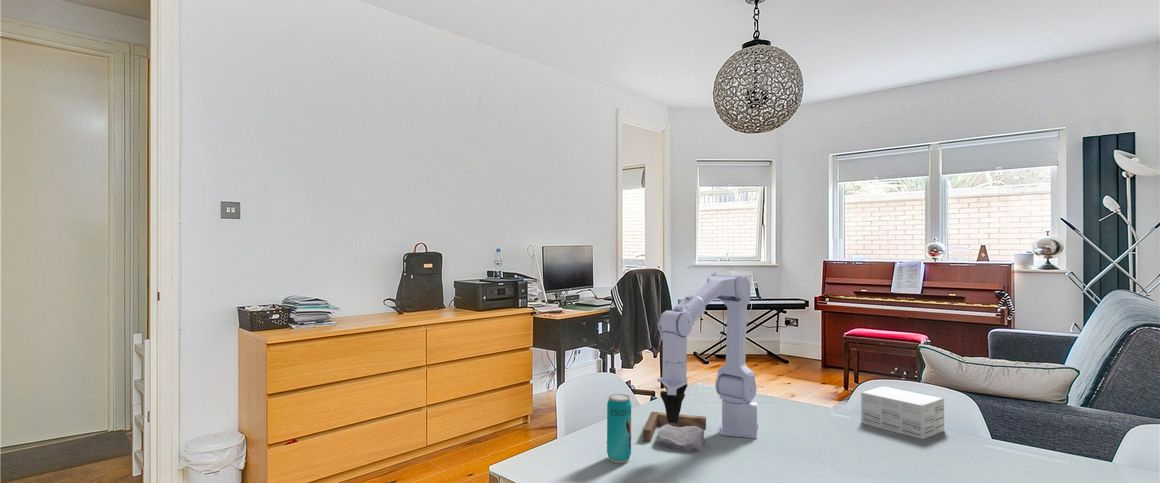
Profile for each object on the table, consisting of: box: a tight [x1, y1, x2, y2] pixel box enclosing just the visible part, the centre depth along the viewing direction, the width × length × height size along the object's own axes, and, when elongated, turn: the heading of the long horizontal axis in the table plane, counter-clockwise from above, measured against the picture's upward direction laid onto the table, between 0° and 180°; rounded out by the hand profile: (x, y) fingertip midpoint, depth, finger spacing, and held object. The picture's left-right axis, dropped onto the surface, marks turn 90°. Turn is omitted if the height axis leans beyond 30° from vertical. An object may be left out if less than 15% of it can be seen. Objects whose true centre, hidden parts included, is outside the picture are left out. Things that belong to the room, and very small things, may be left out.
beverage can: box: [606, 393, 632, 464], centre depth 129 cm, size 6×6×15 cm
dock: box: [642, 411, 707, 443], centre depth 147 cm, size 16×16×3 cm
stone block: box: [655, 424, 705, 453], centre depth 140 cm, size 12×5×10 cm
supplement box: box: [860, 386, 945, 440], centre depth 155 cm, size 17×13×9 cm
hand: (674, 417), depth 130 cm, fingers open, 7 cm apart
